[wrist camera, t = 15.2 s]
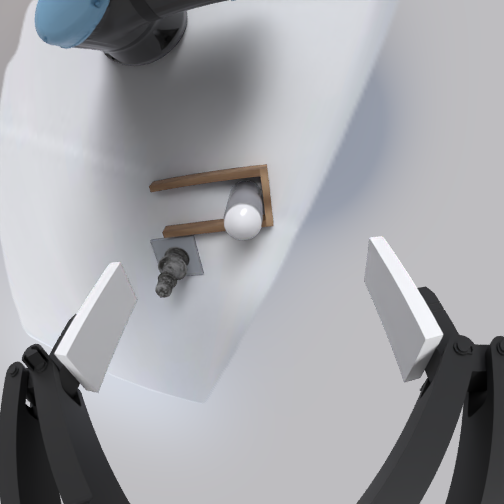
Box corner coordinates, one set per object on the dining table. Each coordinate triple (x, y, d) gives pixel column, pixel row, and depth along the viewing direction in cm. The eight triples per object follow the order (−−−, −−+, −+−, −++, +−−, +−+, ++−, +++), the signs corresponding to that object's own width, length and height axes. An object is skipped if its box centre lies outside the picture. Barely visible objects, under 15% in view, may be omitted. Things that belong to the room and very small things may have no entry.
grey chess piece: (194, 268, 56) (181, 309, 46) (168, 271, 57) (151, 311, 47) (186, 243, 53) (170, 282, 43) (159, 247, 54) (139, 285, 44)
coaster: (151, 239, 54) (150, 241, 53) (193, 234, 53) (192, 236, 52) (164, 275, 58) (163, 277, 58) (203, 272, 58) (203, 274, 57)
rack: (153, 181, 47) (148, 186, 45) (266, 164, 45) (267, 168, 43) (167, 231, 53) (164, 238, 50) (272, 219, 51) (273, 225, 49)
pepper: (227, 182, 47) (219, 207, 38) (260, 178, 47) (260, 203, 37) (232, 211, 50) (226, 243, 41) (263, 208, 50) (264, 239, 40)
